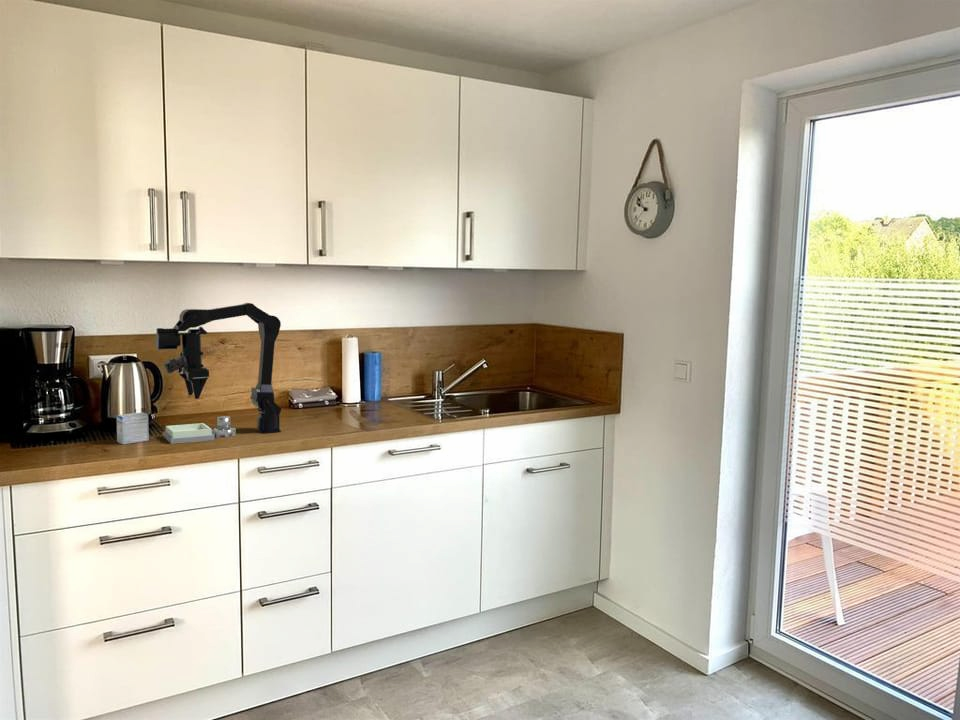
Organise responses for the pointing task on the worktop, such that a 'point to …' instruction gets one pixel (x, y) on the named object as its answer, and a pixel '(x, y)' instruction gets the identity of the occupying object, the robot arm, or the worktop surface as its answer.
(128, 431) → the medicine box
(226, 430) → the gear
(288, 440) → the worktop surface
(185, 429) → the square tray
